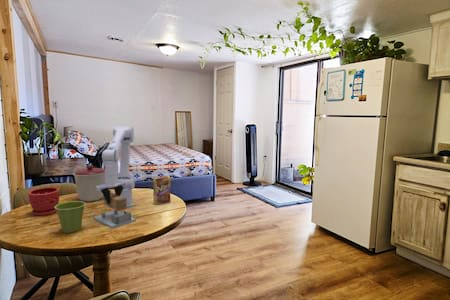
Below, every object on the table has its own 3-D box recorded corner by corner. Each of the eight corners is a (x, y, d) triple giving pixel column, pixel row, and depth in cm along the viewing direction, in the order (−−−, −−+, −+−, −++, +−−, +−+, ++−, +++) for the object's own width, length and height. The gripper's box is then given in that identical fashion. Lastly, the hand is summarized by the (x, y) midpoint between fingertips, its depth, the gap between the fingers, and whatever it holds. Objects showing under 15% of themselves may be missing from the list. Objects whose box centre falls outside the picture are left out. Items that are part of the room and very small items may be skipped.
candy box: (155, 205, 155) (155, 178, 153) (153, 203, 158) (152, 177, 156) (170, 202, 159) (170, 176, 158) (168, 200, 163) (167, 175, 161)
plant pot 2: (84, 233, 117) (82, 208, 116) (52, 237, 114) (50, 210, 112) (89, 223, 128) (88, 199, 127) (60, 226, 125) (58, 202, 124)
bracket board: (93, 218, 134) (92, 209, 133) (116, 212, 143) (116, 203, 143) (112, 228, 122) (111, 218, 122) (136, 220, 132) (135, 211, 131)
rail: (103, 204, 134) (103, 194, 134) (111, 202, 137) (111, 192, 137) (118, 211, 126) (118, 200, 125) (126, 208, 129) (126, 198, 128)
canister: (77, 196, 172) (75, 162, 169) (109, 193, 177) (107, 161, 174) (71, 205, 154) (68, 168, 152) (106, 202, 160) (104, 166, 157)
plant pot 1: (24, 214, 139) (22, 191, 138) (51, 207, 151) (49, 185, 150) (39, 219, 133) (37, 195, 132) (66, 211, 145) (64, 188, 143)
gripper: (100, 178, 123) (102, 207, 124) (130, 173, 134) (131, 200, 135) (93, 176, 127) (94, 204, 129) (122, 171, 138) (123, 197, 140)
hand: (112, 202), depth 132 cm, fingers closed on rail, 4 cm apart
